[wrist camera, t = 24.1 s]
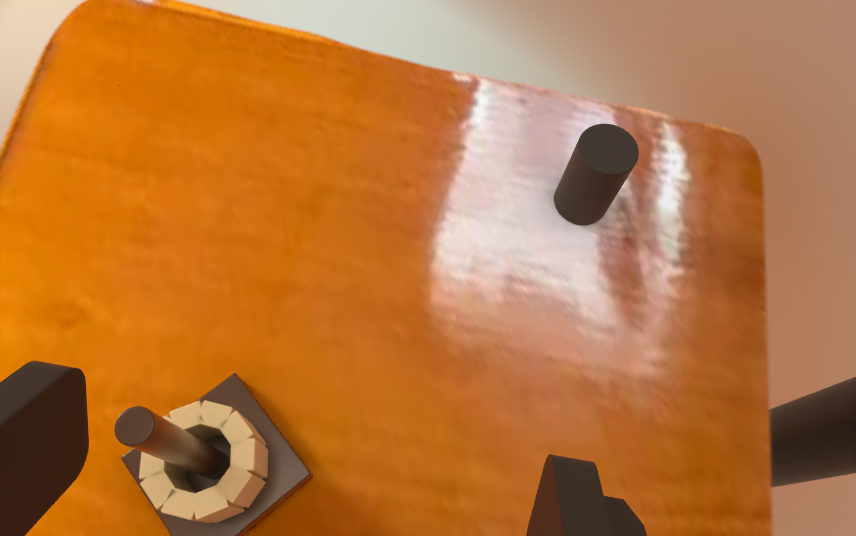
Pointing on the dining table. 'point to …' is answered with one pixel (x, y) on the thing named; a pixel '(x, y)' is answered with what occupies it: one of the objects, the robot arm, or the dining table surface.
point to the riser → (595, 173)
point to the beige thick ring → (236, 484)
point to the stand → (213, 458)
